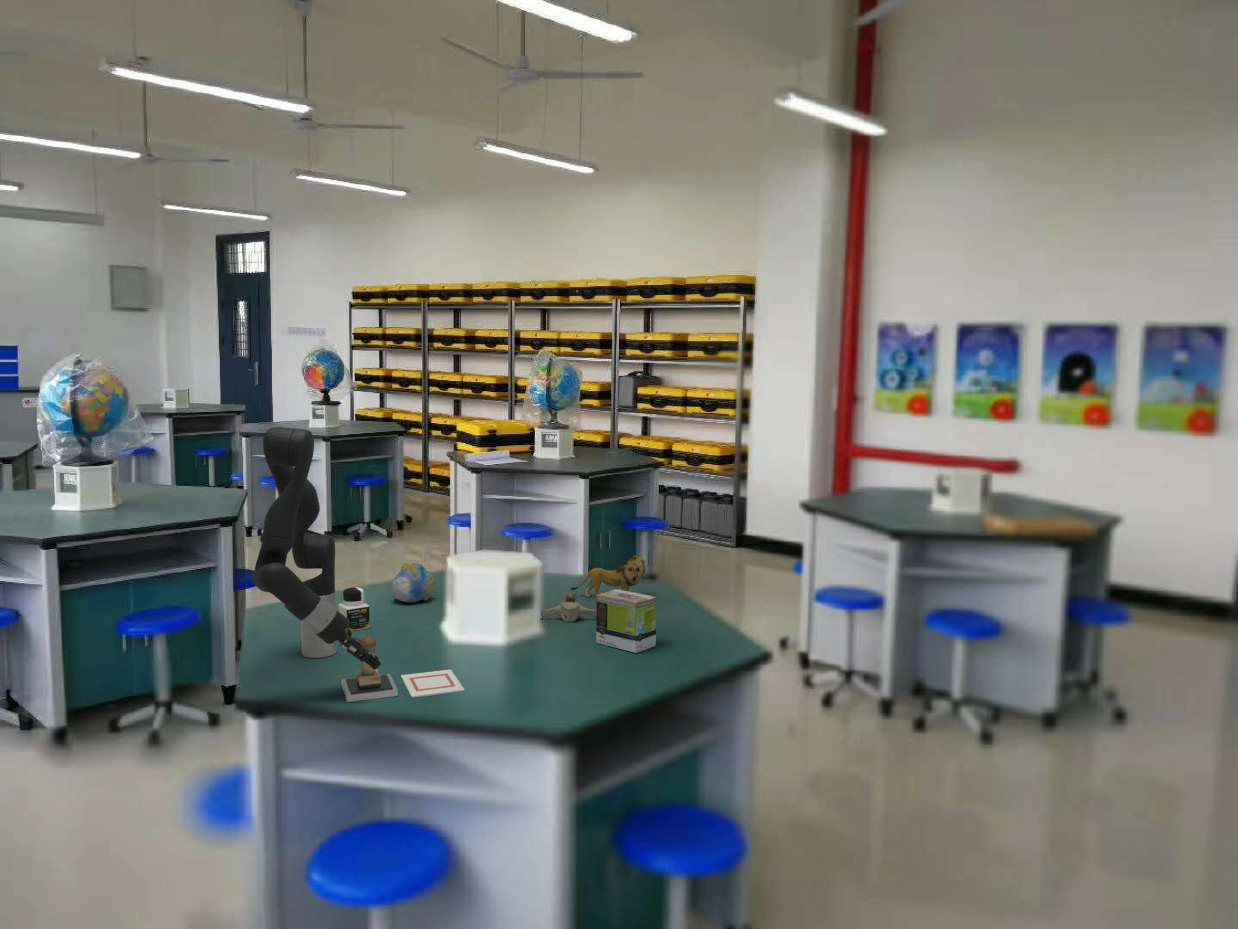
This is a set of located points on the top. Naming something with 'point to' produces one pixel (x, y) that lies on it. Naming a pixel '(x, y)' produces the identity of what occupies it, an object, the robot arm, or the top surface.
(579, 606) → the vertebra
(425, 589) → the decorative rock
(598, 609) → the tea box
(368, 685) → the stamp
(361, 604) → the medicine bottle
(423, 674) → the card
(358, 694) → the ink pad
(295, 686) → the top surface
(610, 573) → the animal model
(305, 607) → the robot arm
